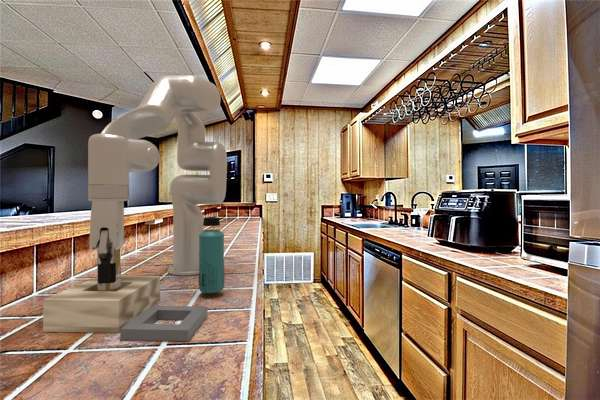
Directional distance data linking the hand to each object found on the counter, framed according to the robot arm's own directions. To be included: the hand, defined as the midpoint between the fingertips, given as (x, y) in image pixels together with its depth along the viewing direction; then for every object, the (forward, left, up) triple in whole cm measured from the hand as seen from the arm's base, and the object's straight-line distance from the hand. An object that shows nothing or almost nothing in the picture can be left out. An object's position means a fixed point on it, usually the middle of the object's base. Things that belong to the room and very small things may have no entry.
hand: (109, 278), depth 70 cm
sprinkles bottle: (0, 0, -5) cm, 5 cm away
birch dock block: (0, 0, -8) cm, 8 cm away
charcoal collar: (+6, +15, -8) cm, 18 cm away
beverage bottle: (-14, +18, -8) cm, 24 cm away
